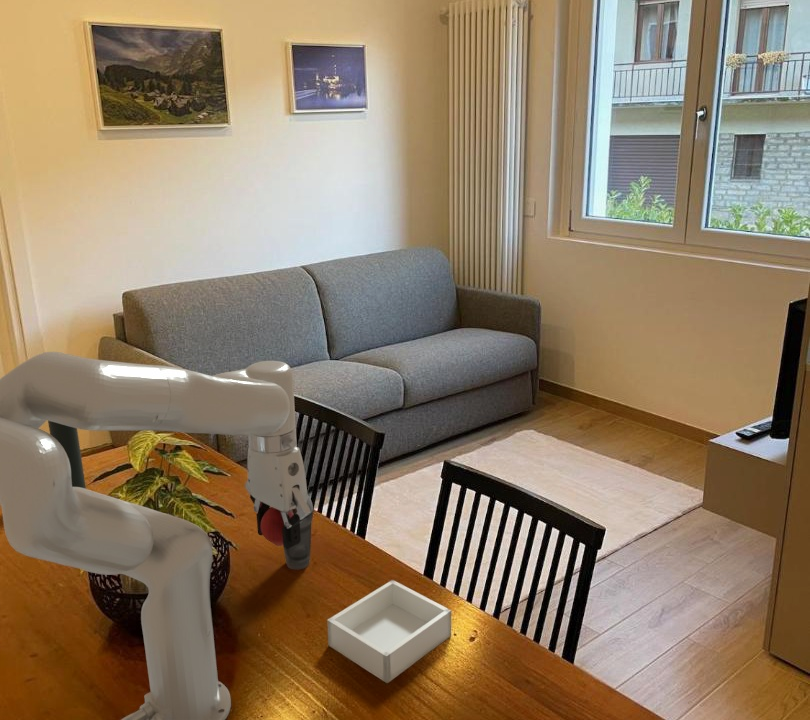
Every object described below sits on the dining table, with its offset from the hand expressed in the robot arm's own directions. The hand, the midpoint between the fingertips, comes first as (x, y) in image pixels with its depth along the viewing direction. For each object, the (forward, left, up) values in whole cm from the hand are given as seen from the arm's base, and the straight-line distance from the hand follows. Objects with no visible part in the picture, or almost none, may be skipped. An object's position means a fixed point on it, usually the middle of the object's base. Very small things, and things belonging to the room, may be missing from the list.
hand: (279, 537), depth 130 cm
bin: (+10, -16, -17) cm, 26 cm away
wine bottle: (-1, +77, -18) cm, 79 cm away
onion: (0, 0, -2) cm, 2 cm away
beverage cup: (+15, +14, -18) cm, 27 cm away
